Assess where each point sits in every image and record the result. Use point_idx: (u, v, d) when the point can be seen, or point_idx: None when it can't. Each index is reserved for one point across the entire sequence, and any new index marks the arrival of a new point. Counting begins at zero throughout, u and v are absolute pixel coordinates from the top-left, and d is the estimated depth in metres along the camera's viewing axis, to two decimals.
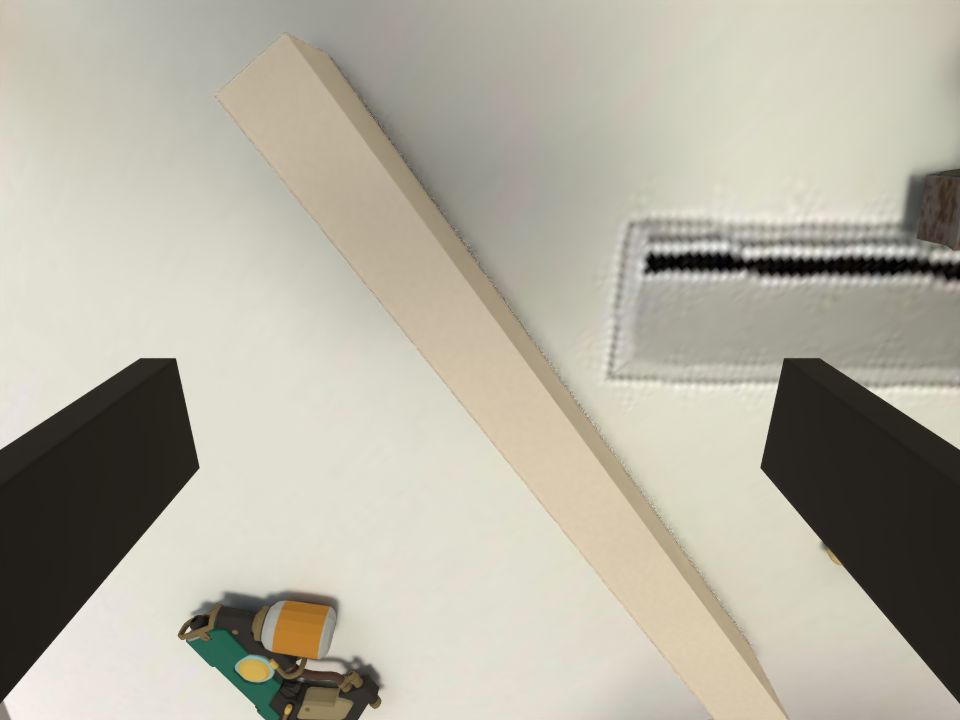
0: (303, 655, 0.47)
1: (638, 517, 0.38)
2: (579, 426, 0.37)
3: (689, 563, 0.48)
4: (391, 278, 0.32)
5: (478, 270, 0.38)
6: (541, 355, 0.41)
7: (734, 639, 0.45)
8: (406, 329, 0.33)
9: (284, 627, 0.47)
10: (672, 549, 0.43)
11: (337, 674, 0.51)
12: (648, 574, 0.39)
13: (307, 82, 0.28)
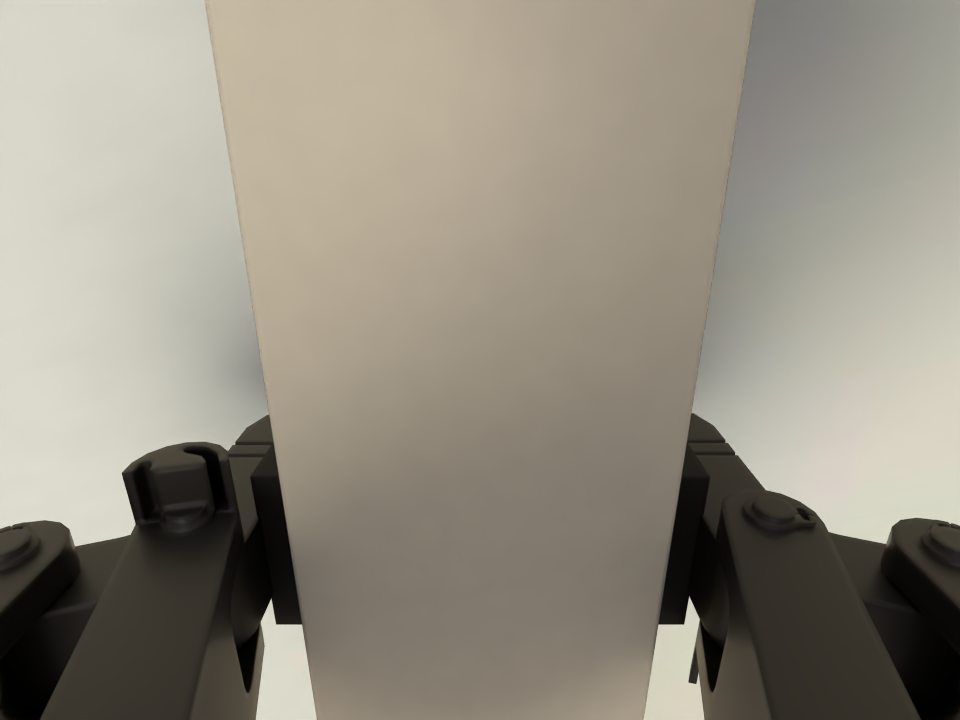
0: None
1: None
2: None
3: None
4: None
5: None
6: None
7: None
8: None
9: None
10: None
11: None
12: None
13: (661, 214, 0.06)
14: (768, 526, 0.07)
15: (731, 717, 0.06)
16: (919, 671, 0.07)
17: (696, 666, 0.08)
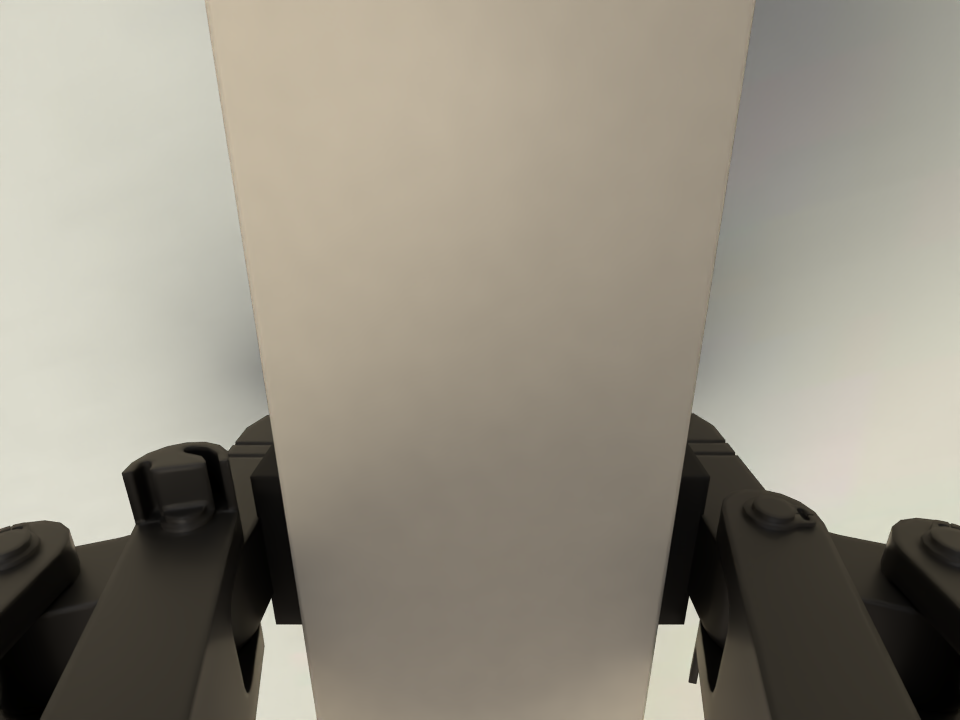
0: None
1: None
2: None
3: None
4: None
5: None
6: None
7: None
8: None
9: None
10: None
11: None
12: None
13: (661, 214, 0.06)
14: (768, 526, 0.07)
15: (731, 717, 0.06)
16: (919, 671, 0.07)
17: (696, 666, 0.08)
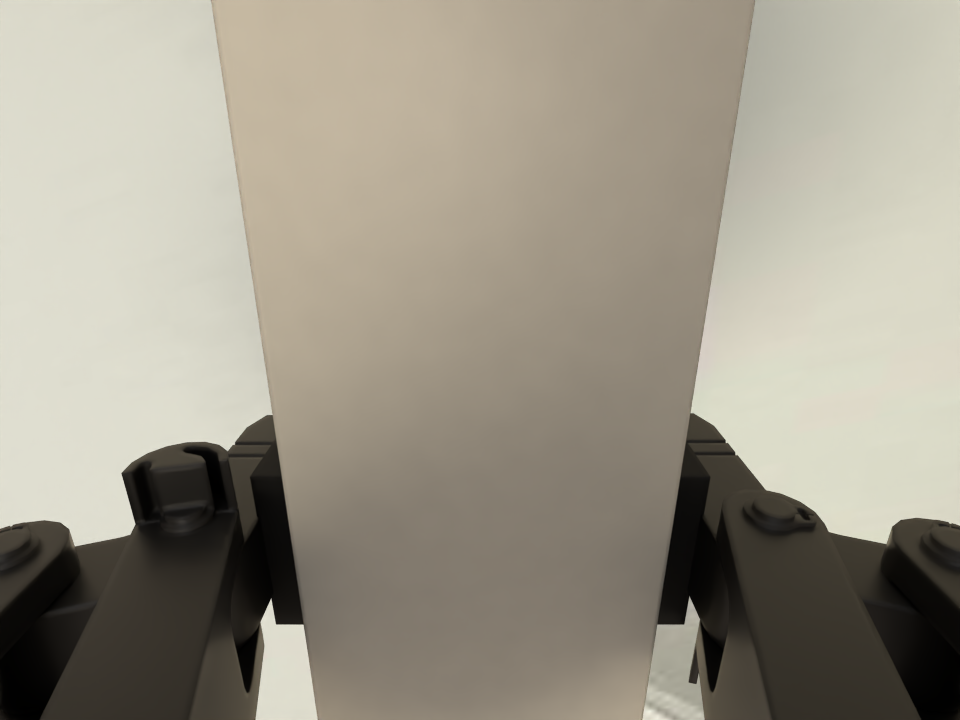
0: None
1: None
2: None
3: None
4: None
5: None
6: None
7: None
8: None
9: None
10: None
11: None
12: None
13: (661, 215, 0.06)
14: (769, 527, 0.07)
15: (731, 717, 0.06)
16: (919, 671, 0.07)
17: (696, 666, 0.08)
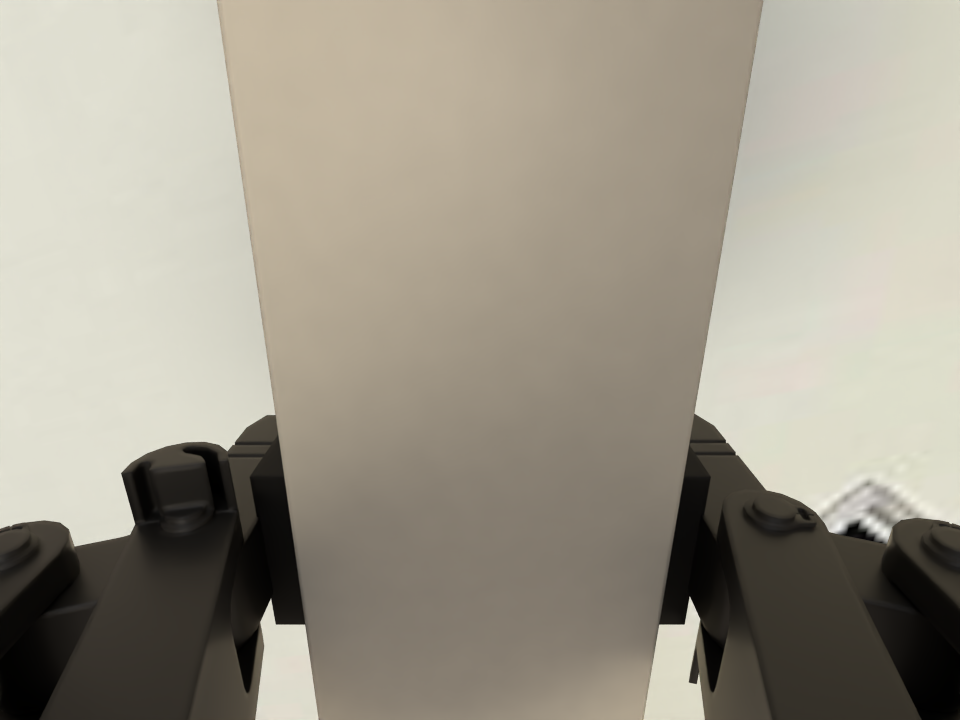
0: None
1: None
2: None
3: None
4: None
5: None
6: None
7: None
8: None
9: None
10: None
11: None
12: None
13: (667, 217, 0.06)
14: (769, 527, 0.07)
15: (731, 717, 0.06)
16: (920, 671, 0.07)
17: (696, 666, 0.08)
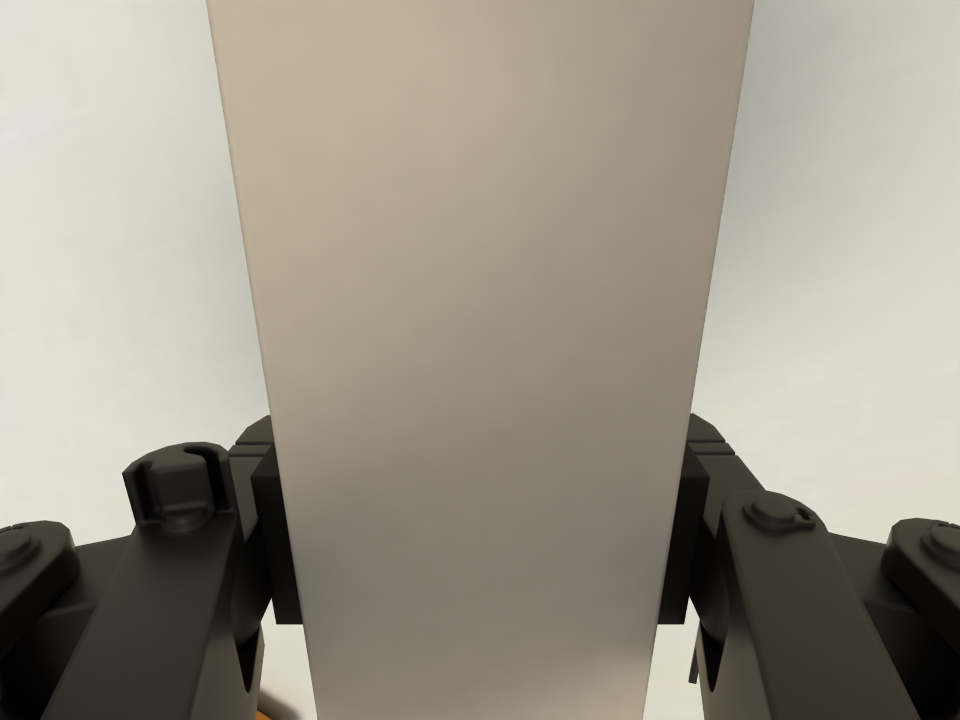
0: None
1: None
2: None
3: None
4: None
5: None
6: None
7: None
8: None
9: None
10: None
11: None
12: None
13: (660, 219, 0.06)
14: (768, 526, 0.07)
15: (731, 717, 0.06)
16: (919, 671, 0.07)
17: (696, 666, 0.08)
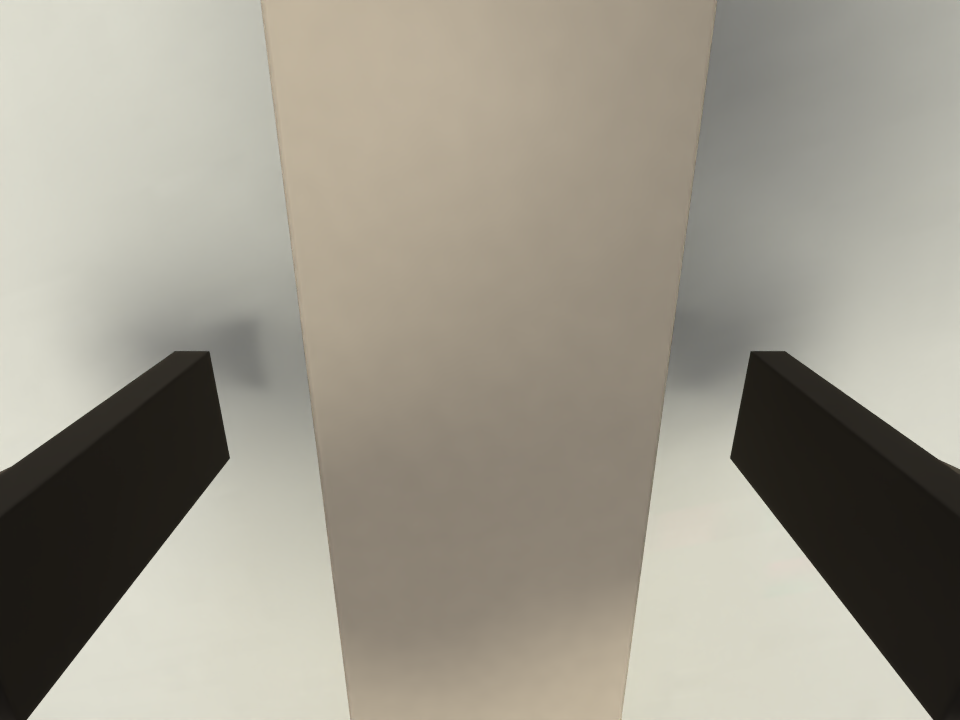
0: None
1: None
2: None
3: None
4: None
5: None
6: None
7: None
8: None
9: None
10: None
11: None
12: None
13: (639, 204, 0.07)
14: None
15: None
16: None
17: None
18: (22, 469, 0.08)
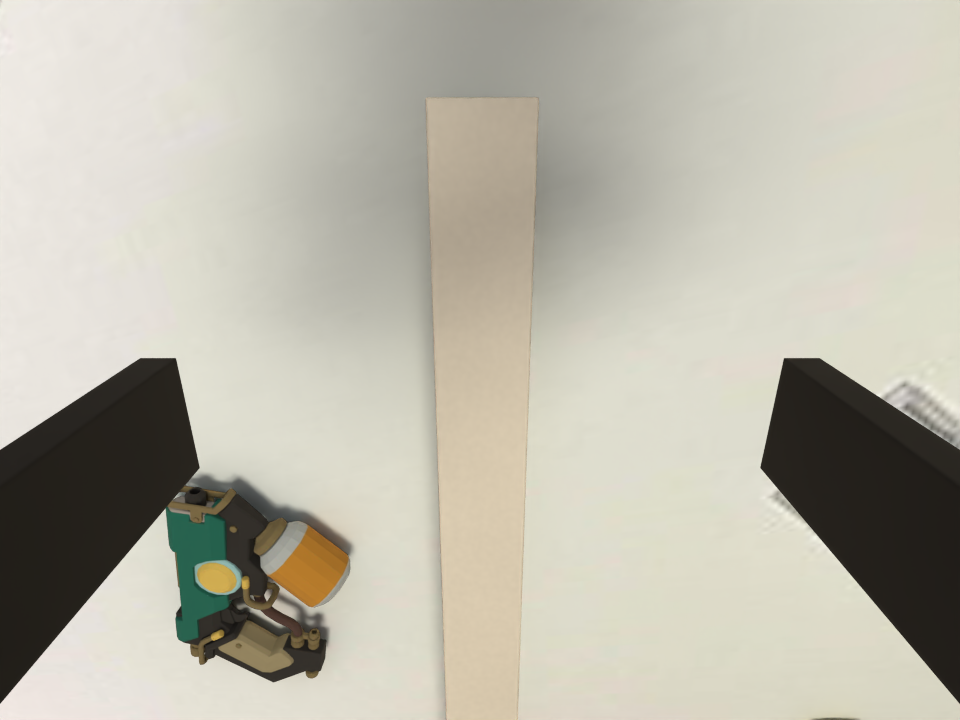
0: (301, 595, 0.39)
1: (517, 681, 0.37)
2: None
3: None
4: (462, 367, 0.29)
5: None
6: None
7: None
8: (440, 417, 0.30)
9: (302, 556, 0.38)
10: None
11: (299, 625, 0.43)
12: None
13: (522, 154, 0.25)
14: None
15: None
16: None
17: None
18: None
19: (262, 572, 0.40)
